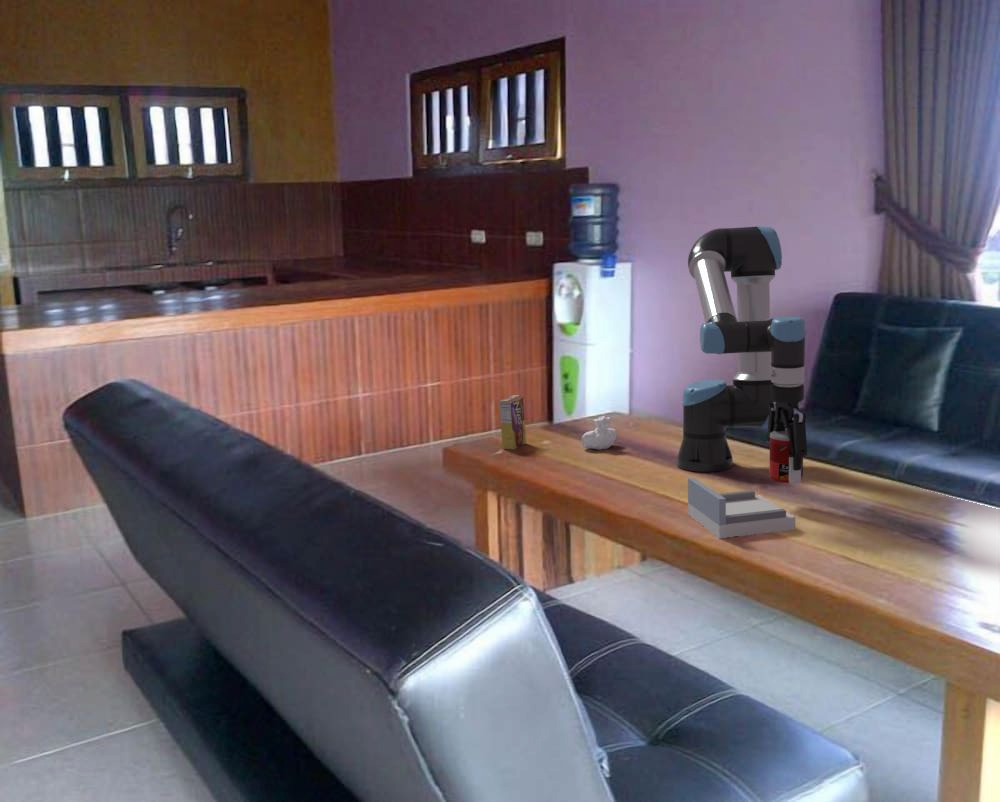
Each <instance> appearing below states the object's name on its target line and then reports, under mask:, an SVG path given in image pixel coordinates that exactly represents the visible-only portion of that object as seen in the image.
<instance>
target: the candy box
mask: <svg viewBox="0 0 1000 802" xmlns="http://www.w3.org/2000/svg"><path fill="white" fill-rule="evenodd" d="M499 410H500V411H499V412H500V413H499V415H500V429H501V431H500V432H501V442H502V443H501V445H502V449H503V450H510V449H511V451H513V450H516V449H517V448H518V449H519V447H521V446H523V445H525V444H527V434H526V419H525V406H524V395H518V394H517V395H513V394H512V395H510V396H507V397H505V398H503V399H501V400H499Z"/></svg>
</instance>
